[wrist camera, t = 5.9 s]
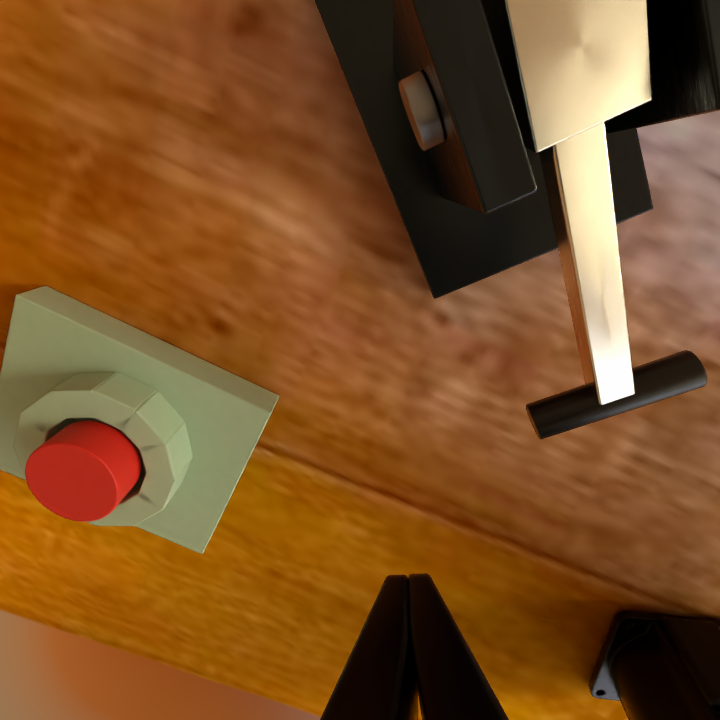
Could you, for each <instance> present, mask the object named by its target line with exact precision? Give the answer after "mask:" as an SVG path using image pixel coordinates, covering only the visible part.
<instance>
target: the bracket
mask: <svg viewBox="0 0 720 720" xmlns="http://www.w3.org/2000/svg"><path fill="white" fill-rule="evenodd" d="M315 3H316V5H317V8H318V10H319V13H320V15H321V18H322V20H323V23H324V25H325V28H326V30H327V33H328V35H329V38H330V40H331V43H332V45H333V48H334V50H335V53H336V55H337V58H338V60H339V63H340V65H341V68H342V70H343V73H344V75H345V78H346V80H347V83H348V85H349V88H350V90H351V93H352V95H353V98H354V100H355V103H356V105H357V108H358V110H359V113H360V115H361V118H362V120H363V123H364V125H365V128H366V130H367V133H368V135H369V138H370V140H371V143H372V145H373V148H374V150H375V153H376V155H377V158H378V160H379V163H380V165H381V168H382V170H383V173H384V175H385V178H386V180H387V183H388V185H389V188H390V190H391V192H392V195H393V197H394V200H395V202H396V205H397V207H398V210H399V212H400V215H401V217H402V220H403V222H404V225H405V227H406V230H407V232H408V235H409V237H410V240H411V242H412V245H413V247H414V250H415V252H416V255H417V257H418V260H419V262H420V265H421V267H422V270H423V272H424V275H425V277H426V280H427V282H428V285H429V287H430V290H431V292H432V295H433V297H434V299H436V298H438V297H441V296H443V295H445V294H448V293H450V292H453V291H455V290H458V289H460V288H462V287H465V286H467V285H470V284H472V283H475V282H477V281H479V280H482V279H484V278H487V277H489V276H492V275H494V274H496V273H499V272H501V271H504V270H506V269H509V268H511V267H513V266H516V265H518V264H521V263H523V262H526V261H528V260H530V259H533V258H535V257H538V256H540V255H543V254H545V253H547V252H550V251H552V250H555V249H557V248H558V246H557V241H556V236H555V231H554V226H553V221H552V216H551V211H550V206H549V201H548V196H547V191H546V185H545V180H544V175H543V170H542V165H541V160H540V155H539V152H538V153H535V152H533V151H531V150H530V149H528V148H526V147H525V146H524V143H523V139H522V136H521V133H520V129H519V126H518V122H517V119H516V116H515V112H514V109H513V105H512V102H511V99H510V95H509V92H508V89H507V85H506V82H505V78H504V75H503V72H502V68H501V65H500V61H499V58H498V55H497V51H496V48H495V44H494V41H493V38H492V34H491V31H490V28H489V24H488V21H487V17H486V14H485V11H484V7H483V4H482V0H315ZM648 15H649V34H650V53H651V71H652V90H653V99H652V100H651V101H649V102H647V103H644V104H642V105H640V106H638V107H636V108H634V109H631V110H629V111H627V112H625V113H623V114H621V115H618V116H616V117H614V118H612V119H610V120H607V121H605V128H606V137H607V145H608V154H609V163H610V172H611V181H612V190H613V199H614V208H615V217H616V224H618V223H620V222H623V221H625V220H628V219H630V218H632V217H635V216H637V215H640V214H642V213H645V212H647V211H649V210H652V209H653V204H652V199H651V195H650V190H649V185H648V181H647V176H646V171H645V167H644V162H643V157H642V153H641V148H640V143H639V139H638V134H637V129H636V128H639V127H643V126H648V125H653V124H657V123H662V122H667V121H672V120H676V119H681V118H686V117H690V116H695V115H700V114H705V113H709V112H714V111H719V110H720V0H648Z"/></svg>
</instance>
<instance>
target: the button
mask: <svg viewBox="0 0 720 720" xmlns="http://www.w3.org/2000/svg"><path fill="white" fill-rule="evenodd" d="M140 473H141V460H140V457H139V454H138V452H137V450H136V448H135V446H134V445H133V443H132V442H131V441H130V440H129V439H128V438H127V437H126V436H125V435H124V434H123V433H121V432H120V431H119V430H117V429H115V428H114V427H112V426H110V425H107V424H104V423H101V422H97V421H79V422H74V423H72V424H69V425H68V426H66V427H65V428H63V429H62V430H61V431H59V432H58V433H57V434H55V435H54V436H53V437H51V438H50V439H49V440H47V441H46V442H45V443H43V444H42V445H41V446H39V447H38V448H37V449H36V450H34V451H33V452H32V453H31V455H30V456H29V458H28V460H27V463H26V467H25V476H26V481H27V484H28V486H29V488H30V490H31V492H32V493H33V495H34V496H35V497H36V499H37V500H38V501H39V502H40V503H41V504H42V505H43V506H45V507H46V508H47V509H49V510H50V511H52V512H53V513H55V514H57V515H59V516H61V517H64V518H67V519H70V520H74V521H82V522H88V521H95V520H99V519H101V518H103V517H105V516H107V515H109V514H110V513H111V512H112V511H113V510H114V509H115V508H116V507H117V505H118V504H119V503H120V502H121V501H122V499H123V498H124V497H125V496H126V495H127V494H128V492H129V491H130V490H131V489H132V488H133V486H134V485H135V484H136V483H137V481H138V479H139V477H140Z"/></svg>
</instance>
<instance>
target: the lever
mask: <svg viewBox="0 0 720 720" xmlns="http://www.w3.org/2000/svg"><path fill="white" fill-rule="evenodd" d="M482 4H483V7H484V11H485V14H486V17H487V21H488V24H489V28H490V31H491V34H492V38H493V41H494V44H495V48H496V51H497V55H498V58H499V61H500V65H501V68H502V72H503V75H504V78H505V82H506V85H507V89H508V92H509V95H510V99H511V102H512V105H513V109H514V112H515V116H516V119H517V122H518V126H519V129H520V133H521V136H522V139H523V143H524V146H525V147H526V148H528V149H530V150H531V151H533V152H535V153H538V152H539V155H540V160H541V165H542V170H543V175H544V180H545V185H546V191H547V196H548V201H549V206H550V211H551V216H552V221H553V226H554V231H555V236H556V241H557V246H558V251H559V256H560V261H561V266H562V271H563V276H564V281H565V286H566V291H567V296H568V301H569V306H570V311H571V316H572V321H573V326H574V331H575V336H576V341H577V346H578V351H579V356H580V361H581V366H582V371H583V376H584V381H585V385H582V386H579V387H576V388H573V389H570V390H567V391H564V392H562V393H559V394H556V395H553V396H550V397H547V398H544V399H541V400H538V401H535V402H532V403H530V404H527V405H526V410H527V413H528V416H529V419H530V421H531V424H532V426H533V428H534V430H535V432H536V434H537V436H538V438H539V439H544V438H547V437H550V436H553V435H557V434H560V433H563V432H566V431H569V430H572V429H575V428H578V427H581V426H584V425H587V424H590V423H594V422H597V421H600V420H603V419H606V418H609V417H612V416H615V415H618V414H621V413H624V412H627V411H630V410H634V409H637V408H640V407H643V406H646V405H649V404H652V403H655V402H658V401H661V400H664V399H667V398H671V397H674V396H677V395H680V394H683V393H686V392H689V391H692V390H695V389H698V388H701V387H704V386H705V385H706V384H707V375H706V371H705V369H704V367H703V365H702V363H701V361H700V360H699V359H698V357H697V356H696V355H695V354H694V353H692V352H691V351H688V350H684V351H681V352H678V353H675V354H672V355H669V356H666V357H663V358H660V359H658V360H655V361H652V362H649V363H646V364H643V365H640V366H637V367H634V368H632V359H631V350H630V341H629V332H628V323H627V314H626V305H625V296H624V288H623V279H622V270H621V261H620V252H619V243H618V234H617V225H616V217H615V208H614V199H613V190H612V181H611V172H610V163H609V154H608V145H607V137H606V128H605V121H607V120H610V119H612V118H614V117H616V116H618V115H621V114H623V113H625V112H627V111H629V110H631V109H634V108H636V107H638V106H640V105H642V104H644V103H647V102H649V101H651V100H652V99H653V90H652V71H651V53H650V34H649V15H648V0H482Z"/></svg>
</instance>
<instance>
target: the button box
mask: <svg viewBox="0 0 720 720" xmlns="http://www.w3.org/2000/svg"><path fill="white" fill-rule="evenodd" d="M278 399H279V395H277V394H275V393H273V392H270V391H268V390H266V389H264V388H262V387H260V386H258V385H256V384H254V383H251V382H249V381H247V380H245V379H243V378H241V377H239V376H237V375H234V374H232V373H230V372H228V371H226V370H224V369H222V368H220V367H217V366H215V365H213V364H211V363H209V362H207V361H205V360H203V359H200V358H198V357H196V356H194V355H192V354H190V353H188V352H186V351H183V350H181V349H179V348H177V347H175V346H173V345H171V344H169V343H166V342H164V341H162V340H160V339H158V338H156V337H154V336H152V335H149V334H147V333H145V332H143V331H141V330H139V329H137V328H135V327H133V326H130V325H128V324H126V323H124V322H122V321H120V320H118V319H116V318H113V317H111V316H109V315H107V314H105V313H103V312H101V311H99V310H96V309H94V308H92V307H90V306H88V305H86V304H84V303H82V302H79V301H77V300H75V299H73V298H71V297H69V296H67V295H65V294H62V293H60V292H58V291H56V290H54V289H52V288H50V287H48V286H43V287H39V288H36V289H33V290H30V291H26V292H23V293H20V294H17V295H16V296H15V301H14V306H13V311H12V316H11V321H10V326H9V331H8V336H7V341H6V347H5V352H4V357H3V362H2V367H1V372H0V470H2V471H5V472H7V473H10V474H12V475H14V476H17V477H19V478H21V479H24V480H26V476H25V467H26V463H27V460H28V458H29V456H30V455H31V453H32V452H33V451H34V450H36V449H37V448H38V447H39V446H41V445H42V444H43V443H45V442H46V441H47V440H49V439H50V438H51V437H53V436H54V435H55V434H57V433H58V432H59V431H61V430H62V429H63V428H65V427H66V426H68V425H69V424H72V423H74V422H79V421H97V422H101V423H104V424H107V425H110V426H112V427H114V428H115V429H117V430H119V431H120V432H121V433H123V434H124V435H125V436H126V437H127V438H128V439H129V440H130V441H131V442H132V443H133V445H134V446H135V448H136V450H137V452H138V454H139V457H140V460H141V473H140V477H139V479H138V481H137V483H136V484H135V485H134V486H133V488H132V489H131V490H130V491H129V492H128V494H127V495H126V496H125V497H124V498H123V499H122V501H121V502H120V503H119V504H118V505H117V507H116V508H115V509H114V510H113V511H112V512H111V513H110V514H109V515H107V516H105V517H103V518H101V519H99V520H95V521H88V523H90V524H93V525H96V526H136V527H138V528H141V529H143V530H146V531H148V532H150V533H153V534H155V535H157V536H160V537H162V538H165V539H167V540H169V541H172V542H174V543H177V544H179V545H181V546H184V547H186V548H188V549H191V550H193V551H196V552H198V553H200V554H202V553H203V552H204V550H205V548H206V546H207V544H208V543H209V541H210V539H211V537H212V535H213V533H214V531H215V529H216V527H217V525H218V522H219V520H220V518H221V516H222V514H223V512H224V510H225V508H226V506H227V504H228V502H229V500H230V498H231V496H232V494H233V492H234V489H235V487H236V485H237V483H238V481H239V479H240V477H241V475H242V473H243V471H244V469H245V467H246V465H247V463H248V461H249V459H250V456H251V454H252V452H253V450H254V448H255V446H256V444H257V442H258V440H259V438H260V436H261V434H262V432H263V430H264V428H265V426H266V424H267V421H268V419H269V417H270V415H271V413H272V411H273V409H274V407H275V405H276V403H277V401H278Z"/></svg>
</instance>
